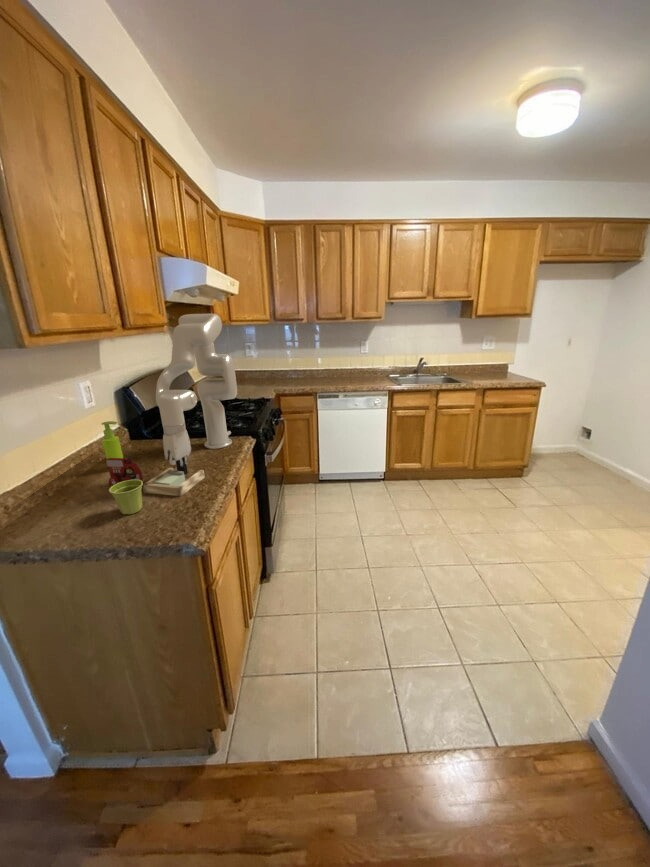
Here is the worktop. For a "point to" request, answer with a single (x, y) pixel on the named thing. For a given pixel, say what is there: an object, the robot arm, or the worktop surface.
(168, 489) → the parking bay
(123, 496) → the plant pot
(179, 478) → the pale green block
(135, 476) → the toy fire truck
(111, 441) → the soap dispenser
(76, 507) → the worktop surface
